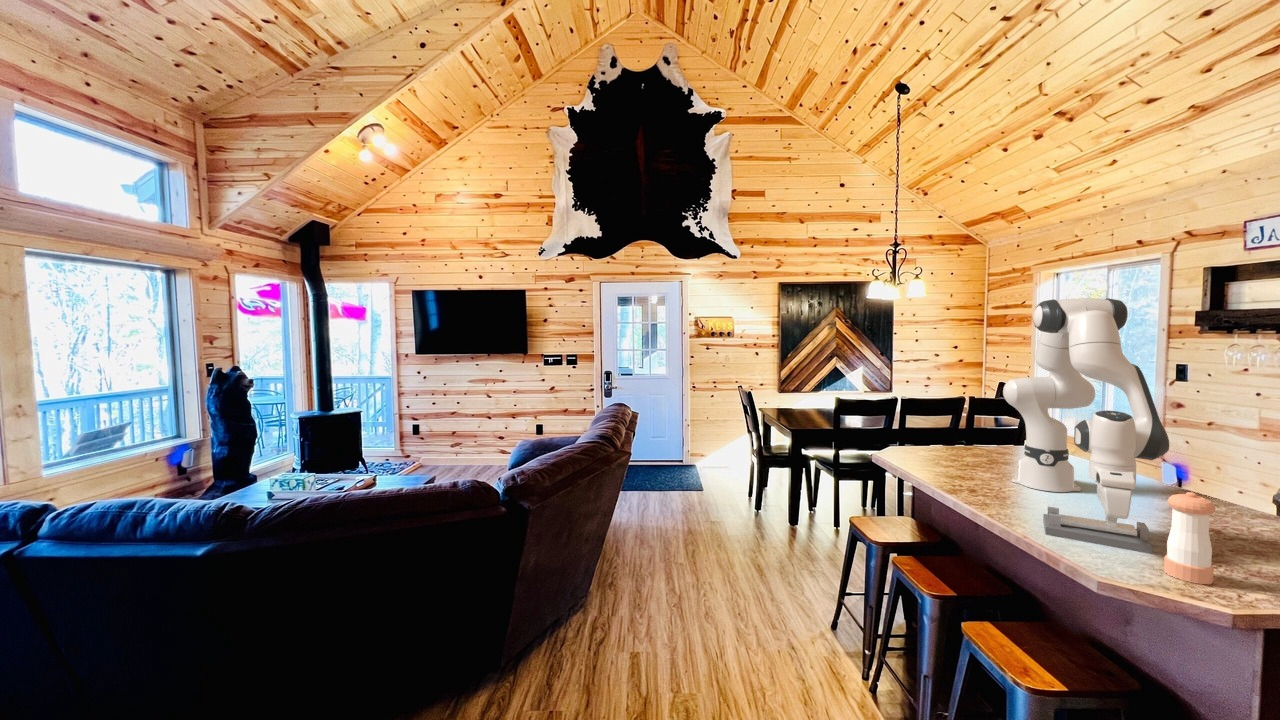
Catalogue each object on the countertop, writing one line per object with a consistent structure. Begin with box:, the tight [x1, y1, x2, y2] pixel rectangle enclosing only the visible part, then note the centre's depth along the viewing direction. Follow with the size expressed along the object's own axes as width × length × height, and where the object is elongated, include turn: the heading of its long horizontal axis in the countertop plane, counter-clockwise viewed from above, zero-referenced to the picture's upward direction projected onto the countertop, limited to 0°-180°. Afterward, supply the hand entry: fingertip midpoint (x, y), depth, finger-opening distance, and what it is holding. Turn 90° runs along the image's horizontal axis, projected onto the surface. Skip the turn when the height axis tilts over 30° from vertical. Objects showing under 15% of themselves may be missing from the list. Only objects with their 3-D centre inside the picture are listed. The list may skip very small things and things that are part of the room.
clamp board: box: [1042, 505, 1152, 555], centre depth 129 cm, size 12×20×5 cm, turn 52°
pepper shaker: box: [1163, 491, 1216, 585], centre depth 107 cm, size 7×7×19 cm
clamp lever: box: [1050, 513, 1137, 536], centre depth 130 cm, size 5×17×2 cm, turn 52°
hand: (1110, 525), depth 127 cm, fingers closed, pressing on clamp lever
